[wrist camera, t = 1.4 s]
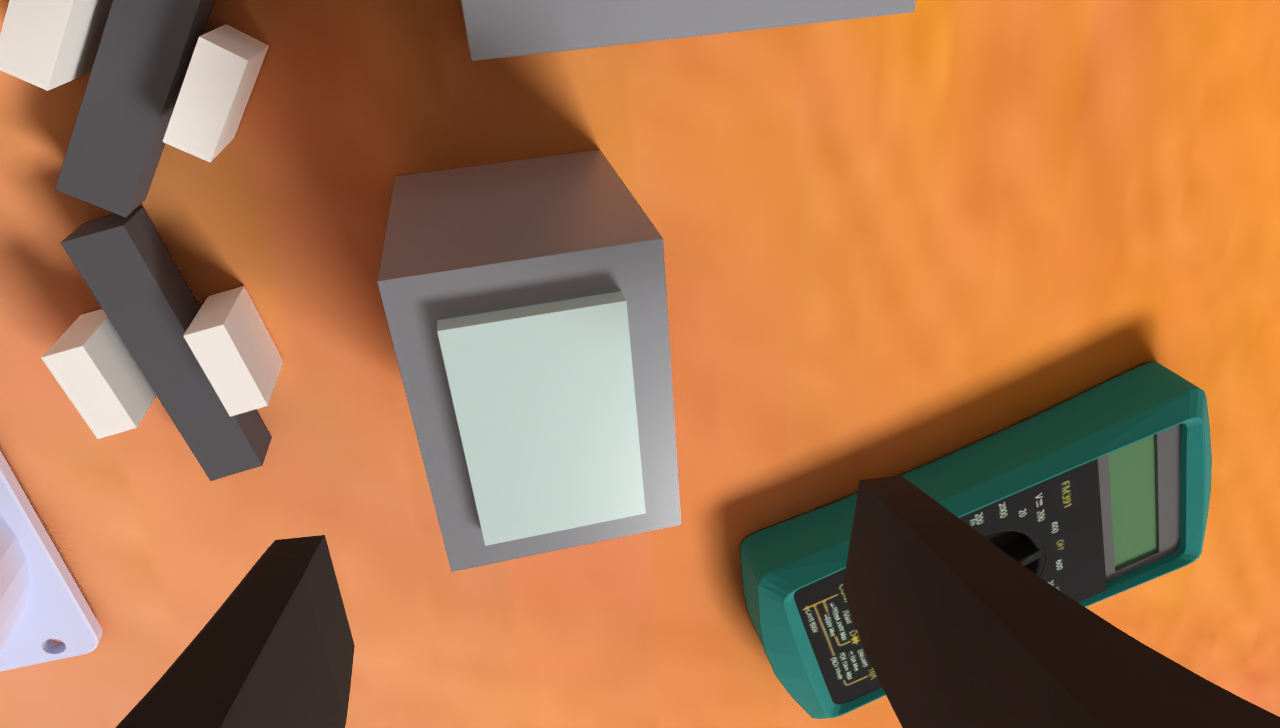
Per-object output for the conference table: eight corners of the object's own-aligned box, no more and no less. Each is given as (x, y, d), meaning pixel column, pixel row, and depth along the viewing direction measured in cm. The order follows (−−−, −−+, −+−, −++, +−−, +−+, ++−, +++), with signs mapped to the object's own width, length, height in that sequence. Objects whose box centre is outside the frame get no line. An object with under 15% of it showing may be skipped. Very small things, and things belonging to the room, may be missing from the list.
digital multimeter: (714, 535, 25) (745, 604, 22) (1153, 345, 25) (1232, 392, 23) (774, 675, 29) (806, 747, 26) (1154, 509, 29) (1223, 565, 26)
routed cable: (6, 410, 18) (-41, 462, 16) (97, -473, 12) (39, -540, 10) (266, 459, 20) (249, 510, 18) (454, -281, 14) (456, -310, 12)
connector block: (448, 408, 20) (451, 586, 15) (395, 175, 17) (375, 291, 12) (622, 378, 21) (685, 538, 16) (599, 148, 18) (668, 247, 13)
